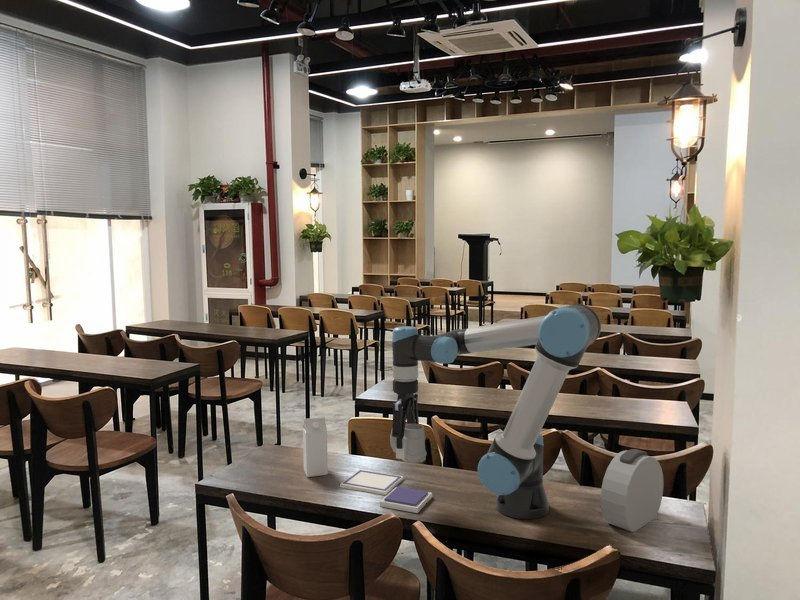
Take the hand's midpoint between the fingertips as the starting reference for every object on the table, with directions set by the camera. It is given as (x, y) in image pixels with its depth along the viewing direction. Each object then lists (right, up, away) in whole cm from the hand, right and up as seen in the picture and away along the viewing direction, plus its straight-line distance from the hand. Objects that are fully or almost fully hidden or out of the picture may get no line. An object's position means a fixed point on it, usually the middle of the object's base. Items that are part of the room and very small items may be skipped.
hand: (406, 454), depth 183 cm
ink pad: (0, -15, +1) cm, 15 cm away
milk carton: (-31, -13, +26) cm, 42 cm away
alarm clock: (+63, -16, -12) cm, 66 cm away
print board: (-11, -14, +16) cm, 24 cm away
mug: (0, -1, 0) cm, 1 cm away
